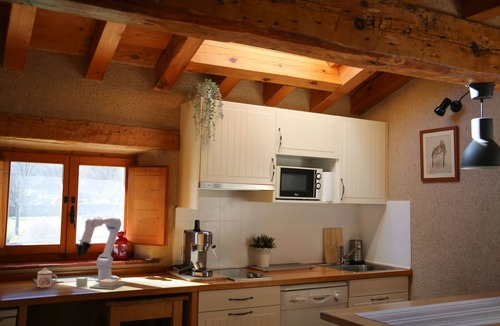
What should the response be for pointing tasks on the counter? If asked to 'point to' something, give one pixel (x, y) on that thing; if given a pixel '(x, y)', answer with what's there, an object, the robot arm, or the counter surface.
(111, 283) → the stacking base
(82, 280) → the sage cube
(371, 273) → the counter surface
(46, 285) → the teacup with lid
